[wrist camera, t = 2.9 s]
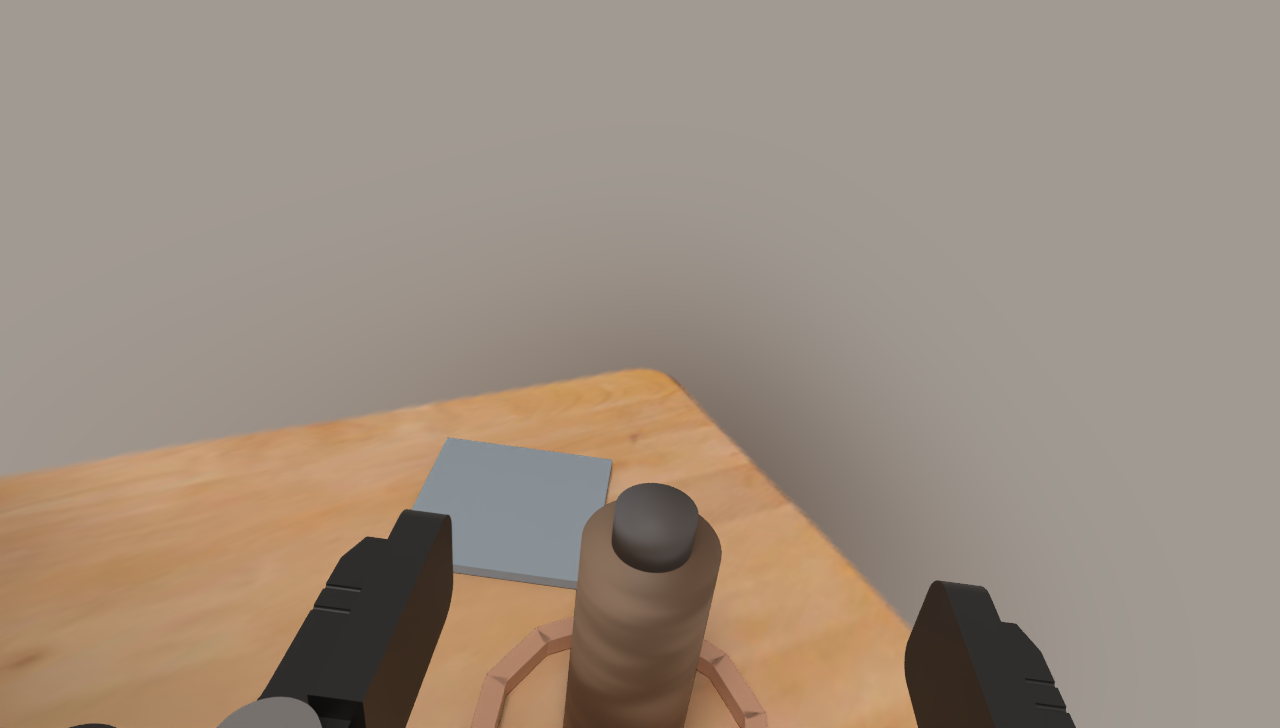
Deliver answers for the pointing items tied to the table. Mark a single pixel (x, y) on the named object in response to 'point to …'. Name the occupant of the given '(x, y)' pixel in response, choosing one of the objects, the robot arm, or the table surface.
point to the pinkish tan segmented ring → (560, 639)
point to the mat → (515, 509)
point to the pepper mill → (640, 610)
